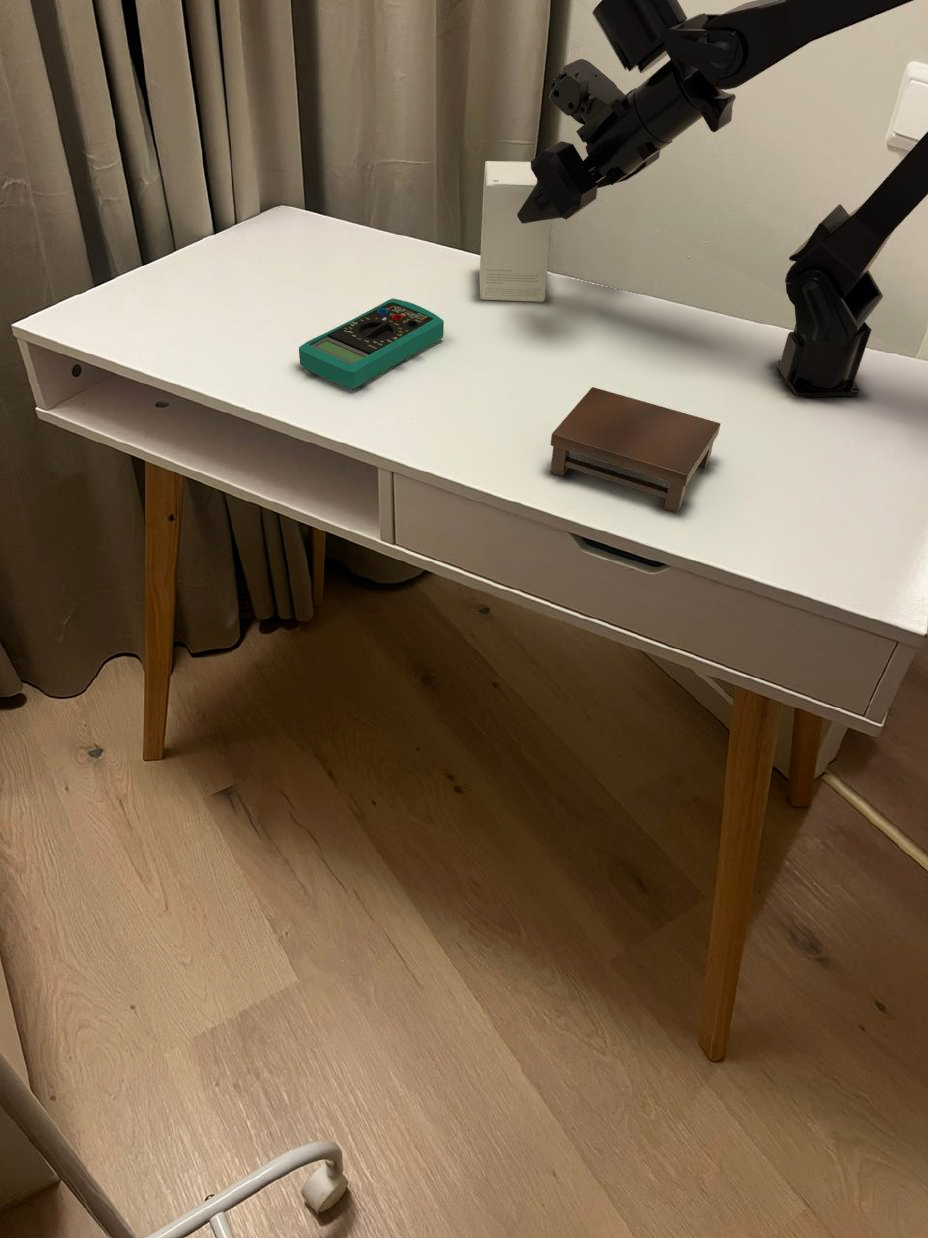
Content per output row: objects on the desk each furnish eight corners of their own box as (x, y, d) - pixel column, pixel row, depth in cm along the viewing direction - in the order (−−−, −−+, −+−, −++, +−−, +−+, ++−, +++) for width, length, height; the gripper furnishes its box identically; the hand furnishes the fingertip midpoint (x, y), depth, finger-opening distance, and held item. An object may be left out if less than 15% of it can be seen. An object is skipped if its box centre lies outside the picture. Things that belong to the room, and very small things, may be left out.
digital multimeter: (448, 338, 103) (449, 312, 101) (352, 395, 95) (350, 367, 93) (395, 317, 107) (394, 291, 105) (296, 370, 98) (294, 342, 96)
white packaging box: (545, 303, 110) (556, 185, 101) (478, 300, 110) (484, 183, 101) (542, 274, 115) (552, 160, 107) (479, 271, 115) (483, 158, 107)
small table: (711, 461, 88) (721, 422, 85) (678, 515, 82) (687, 475, 80) (587, 424, 92) (592, 386, 89) (547, 473, 86) (551, 433, 83)
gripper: (651, 16, 97) (543, 114, 109) (559, 56, 85) (449, 161, 97) (710, 119, 100) (598, 204, 111) (627, 171, 88) (512, 260, 100)
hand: (542, 205), depth 105 cm, fingers open, 9 cm apart
